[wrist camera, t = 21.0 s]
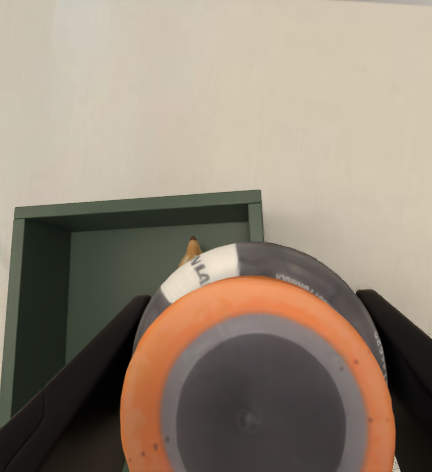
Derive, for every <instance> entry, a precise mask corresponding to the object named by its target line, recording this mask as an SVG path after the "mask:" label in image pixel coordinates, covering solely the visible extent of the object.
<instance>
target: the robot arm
mask: <svg viewBox="0 0 432 472" xmlns="http://www.w3.org/2000/svg"><path fill="white" fill-rule="evenodd" d="M356 295H357V297H358V298H359V299H360V300H361V302H362V303H363V305H364V306H365V308H366V310H367V311H368V313H369V315H370V317H371V319H372V321H373V323H374V325H375V328H376V330H377V332H378V335H379V338H380V341H381V344H382V348H383V352H384V356H385V363H386V370H387V381H388V390H389V393H390V397H391V402H392V411H393V414H394V420H395V431H396V434H395V457H396V459H397V462H398V465H399V468H400V471H401V472H432V339H431V338H430V337H429V336H428V335H427V334H425V333H424V332H423V331H422V330H421V329H419V328H418V327H417V326H416V325H415V324H414V323H412V322H411V321H410V320H409V319H408V318H406V317H405V316H404V315H403V314H402V313H401V312H399V311H398V310H397V309H396V308H395V307H393V306H392V305H391V304H390V303H389V302H388V301H386V300H385V299H384V298H383V297H382V296H380V295H379V294H378V293H377V292H376V291H374V290H372V289H364V290H358V291H357V292H356ZM151 298H152V297H151V296H150V295H148V294H147V295H136V296H135V297H134V298H133V299H132V300H131V301H130V302H129V303H128V304H127V305H126V306H125V307H124V308H123V309H122V310H121V311H120V312H119V313H118V314H117V315H116V316H115V317H114V318H113V319H112V320H111V321H110V322H109V323H108V324H107V325H106V326H105V327H104V328H103V329H102V330H101V331H100V332H99V333H98V334H97V335H96V336H95V337H94V338H93V339H92V340H91V341H90V342H89V343H88V344H87V345H86V346H85V347H84V348H83V349H82V350H81V351H80V352H79V353H78V354H77V355H76V356H75V357H74V358H73V359H71V360H70V361H69V362H68V363H67V364H66V365H65V366H64V367H63V368H62V369H61V370H60V371H59V372H58V373H57V374H56V375H55V376H54V377H53V378H52V379H51V380H50V381H49V382H48V383H47V384H46V385H45V386H44V389H41V390H40V391H39V392H38V393H37V394H36V395H35V396H34V397H33V398H32V399H31V400H30V401H29V402H28V403H27V404H26V405H25V406H24V407H23V408H22V409H21V410H20V411H19V412H18V413H17V414H15V415H14V416H13V417H12V418H11V419H10V420H9V421H8V422H7V423H6V424H5V425H4V426H2V427H1V428H0V472H123V468H124V464H125V460H126V458H125V454H124V451H123V447H122V440H121V422H120V407H121V395H122V390H123V385H124V380H125V375H126V372H127V369H128V366H129V363H130V361H131V359H132V352H133V344H134V340H135V336H136V333H137V329H138V326H139V323H140V320H141V318H142V315H143V313H144V311H145V309H146V307H147V305H148V304H149V302H150V300H151Z"/></svg>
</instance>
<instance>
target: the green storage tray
mask: <svg viewBox="0 0 432 472" xmlns="http://www.w3.org/2000/svg"><path fill="white" fill-rule="evenodd" d="M261 202H262V201H261V190H248V191H234V192H220V193H206V194H192V195H178V196H164V197H151V198H137V199H123V200H109V201H95V202H81V203H67V204H54V205H40V206H26V207H15V212H14V222H13V234H12V247H11V260H10V272H9V285H8V298H7V311H6V323H5V336H4V349H3V361H2V374H1V387H0V428H1V427H2V426H4V425H5V424H6V423H7V422H8V421H9V420H10V419H11V418H12V417H13V416H14V415H15V414H17V413H18V412H19V411H20V410H21V409H22V408H23V407H24V406H25V405H26V404H27V403H28V402H29V401H30V400H31V399H32V398H33V397H34V396H35V395H36V394H37V393H38V392H39V391H40V390H41V389H44V386H45V385H46V384H47V383H48V382H49V381H50V380H51V379H52V378H53V377H54V376H55V375H56V374H57V373H58V372H59V371H60V370H61V369H62V368H63V367H64V366H65V365H66V364H67V363H68V362H69V361H70V360H71V359H73V358H74V357H75V356H76V355H77V354H78V353H79V352H80V351H81V350H82V349H83V348H84V347H85V346H86V345H87V344H88V343H89V342H90V341H91V340H92V339H93V338H94V337H95V336H96V335H97V334H98V333H99V332H100V331H101V330H102V329H103V328H104V327H105V326H106V325H107V324H108V323H109V322H110V321H111V320H112V319H113V318H114V317H115V316H116V315H117V314H118V313H119V312H120V311H121V310H122V309H123V308H124V307H125V306H126V305H127V304H128V303H129V302H130V301H131V300H132V299H133V298H134V297H135V296H136V295H147V294H148V295H150V296H151V297H153V295H154V293H155V292H156V291H157V289H158V288H159V287H160V286H161V285H162V284H163V283H164V282H165V281H166V280H167V279H168V278H169V276H170V275H171V274H173V273H174V272H175V271H176V270H177V269H178V267H179V264H180V262H181V261H182V259H183V258H184V256H185V254H186V252H187V248H188V245H189V241H190V238H191V237H192V236H195V238H196V240H197V241H198V242H199V245H200V248H201V250H202V252H203V253H205V252H207V251H209V250H212V249H215V248H217V247H221V246H225V245H230V244H234V243H240V242H256V241H258V242H264V234H263V217H262V204H261ZM123 472H130V471H129V468H128V464H127V461H126V460H125V464H124V468H123Z"/></svg>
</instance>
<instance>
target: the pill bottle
mask: <svg viewBox="0 0 432 472" xmlns="http://www.w3.org/2000/svg"><path fill="white" fill-rule="evenodd" d="M120 422H121V440H122V447H123V451H124V454H125V458H126V461H127V464H128V468H129V471H130V472H392V469H393V463H394V455H395V434H396V431H395V420H394V414H393V411H392V402H391V397H390V393H389V390H388V381H387V370H386V363H385V356H384V352H383V348H382V344H381V341H380V338H379V335H378V332H377V330H376V328H375V325H374V323H373V321H372V319H371V317H370V315H369V313H368V311H367V310H366V308H365V306H364V305H363V303H362V302H361V300H360V299H359V298H358V297H357V295H356V294H355V293H354V292H353V290H352V289H351V288H350V287H349V286H348V285H347V284H346V283H345V282H344V280H342V279H341V278H340V277H339V276H338V275H337V274H336V273H335V272H333V271H332V270H331V269H330V268H328V267H327V266H326V265H324V264H323V263H322V262H320V261H318V260H317V259H315V258H313V257H311V256H309V255H307V254H305V253H303V252H300V251H298V250H295V249H292V248H289V247H285V246H281V245H277V244H273V243H267V242H258V241H256V242H240V243H234V244H230V245H225V246H221V247H217V248H215V249H212V250H209V251H207V252H205V253H203V254H200V255H198V256H197V257H195V258H193V259H191V260H190V261H188V262H187V263H185V264H183V265H182V266H181V267H180V268H178V269H177V270H176V271H175V272H174V273H173V274H171V275H170V276H169V278H168V279H167V280H166V281H165V282H164V283H163V284H162V285H161V286H160V287H159V288H158V289H157V291H156V292H155V293H154V295H153V297H152V298H151V300H150V302H149V304H148V305H147V307H146V309H145V311H144V313H143V315H142V318H141V320H140V323H139V326H138V329H137V333H136V336H135V340H134V344H133V352H132V359H131V361H130V363H129V366H128V369H127V372H126V375H125V380H124V385H123V390H122V395H121V407H120Z"/></svg>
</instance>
